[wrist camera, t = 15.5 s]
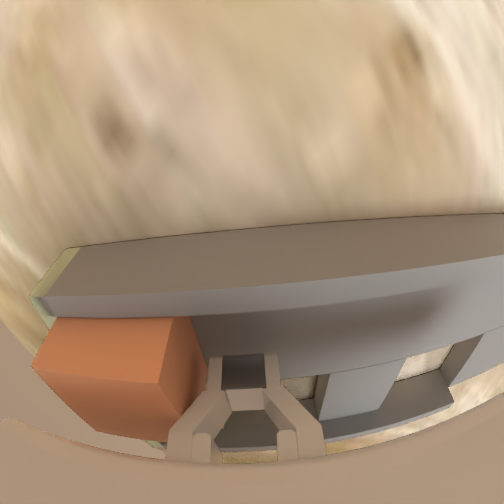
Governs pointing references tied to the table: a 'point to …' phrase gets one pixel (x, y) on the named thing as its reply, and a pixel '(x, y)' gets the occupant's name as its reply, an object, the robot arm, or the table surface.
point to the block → (124, 371)
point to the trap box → (312, 309)
